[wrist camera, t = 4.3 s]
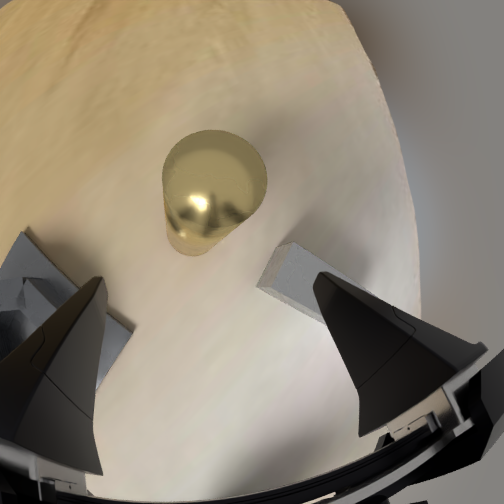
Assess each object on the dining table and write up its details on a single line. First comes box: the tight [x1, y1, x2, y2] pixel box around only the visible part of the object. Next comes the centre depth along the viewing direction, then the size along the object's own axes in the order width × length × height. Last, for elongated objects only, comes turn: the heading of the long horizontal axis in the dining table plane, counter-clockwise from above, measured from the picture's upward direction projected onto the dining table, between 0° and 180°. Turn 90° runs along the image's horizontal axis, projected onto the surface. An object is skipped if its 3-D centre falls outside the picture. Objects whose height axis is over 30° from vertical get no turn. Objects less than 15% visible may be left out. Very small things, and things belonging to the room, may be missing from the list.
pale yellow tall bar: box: [162, 130, 267, 256], centre depth 17 cm, size 4×4×12 cm
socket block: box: [0, 231, 133, 390], centre depth 15 cm, size 14×14×4 cm
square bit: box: [256, 242, 378, 326], centre depth 24 cm, size 10×4×4 cm, turn 61°
